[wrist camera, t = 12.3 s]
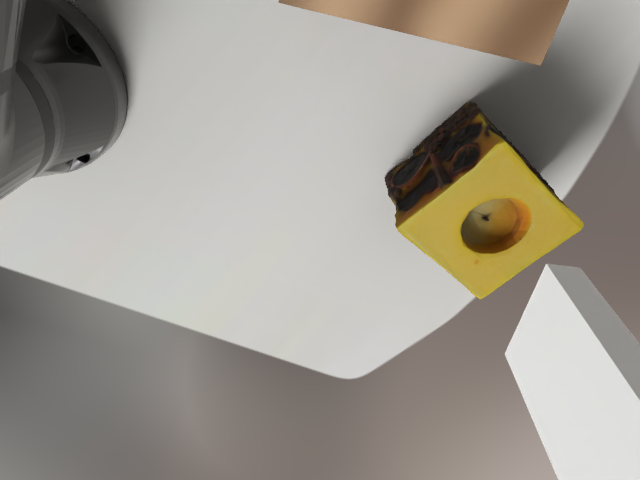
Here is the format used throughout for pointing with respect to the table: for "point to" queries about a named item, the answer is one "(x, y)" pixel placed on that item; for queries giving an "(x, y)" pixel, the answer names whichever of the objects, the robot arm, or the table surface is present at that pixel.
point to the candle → (477, 203)
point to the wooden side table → (459, 21)
